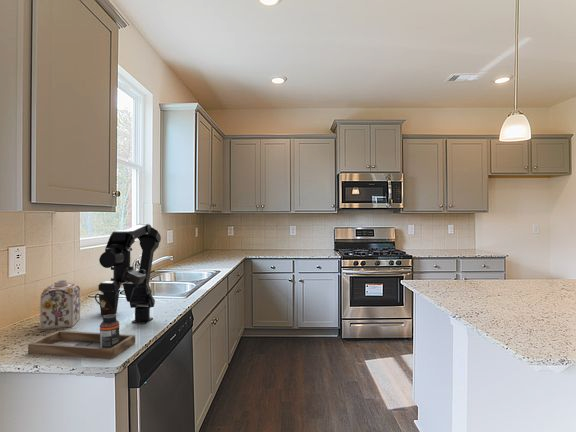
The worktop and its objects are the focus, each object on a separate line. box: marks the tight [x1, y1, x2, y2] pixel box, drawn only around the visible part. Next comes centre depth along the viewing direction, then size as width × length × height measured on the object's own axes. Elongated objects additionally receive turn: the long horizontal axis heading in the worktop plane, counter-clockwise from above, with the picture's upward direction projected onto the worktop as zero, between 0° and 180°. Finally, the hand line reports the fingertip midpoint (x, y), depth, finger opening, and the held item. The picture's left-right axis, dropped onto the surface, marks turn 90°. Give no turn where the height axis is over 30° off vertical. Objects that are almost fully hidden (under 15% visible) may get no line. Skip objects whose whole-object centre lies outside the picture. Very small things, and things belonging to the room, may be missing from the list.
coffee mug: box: [94, 291, 120, 316], centre depth 155 cm, size 12×9×10 cm
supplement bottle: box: [99, 314, 120, 348], centre depth 115 cm, size 6×6×11 cm
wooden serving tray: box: [27, 330, 136, 360], centre depth 116 cm, size 13×30×3 cm, turn 83°
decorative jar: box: [39, 279, 81, 330], centre depth 140 cm, size 12×12×18 cm
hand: (121, 304), depth 127 cm, fingers open, 9 cm apart
